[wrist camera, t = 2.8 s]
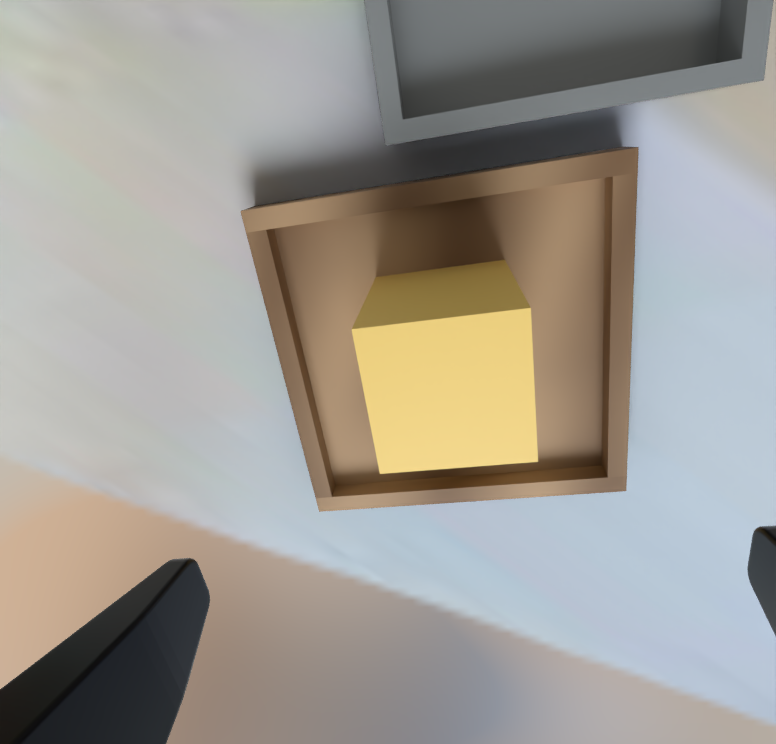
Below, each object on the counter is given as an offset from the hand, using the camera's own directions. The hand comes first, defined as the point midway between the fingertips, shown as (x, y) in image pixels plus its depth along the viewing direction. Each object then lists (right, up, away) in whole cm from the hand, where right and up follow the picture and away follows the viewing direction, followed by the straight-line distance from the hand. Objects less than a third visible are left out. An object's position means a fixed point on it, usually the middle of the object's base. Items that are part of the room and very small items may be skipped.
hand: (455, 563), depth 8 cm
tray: (+1, +4, +11) cm, 12 cm away
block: (+1, +5, +10) cm, 11 cm away
